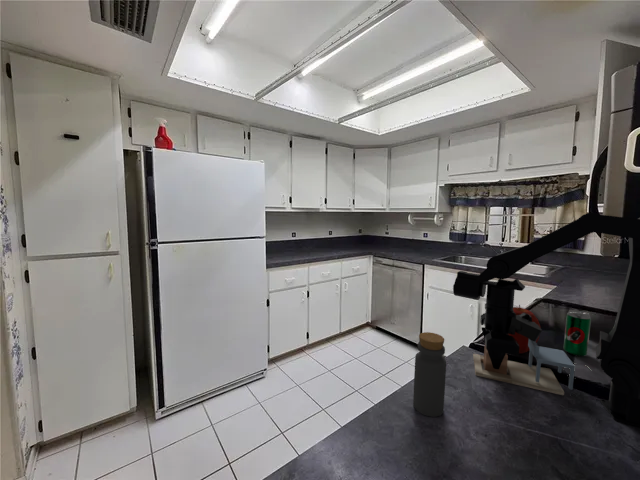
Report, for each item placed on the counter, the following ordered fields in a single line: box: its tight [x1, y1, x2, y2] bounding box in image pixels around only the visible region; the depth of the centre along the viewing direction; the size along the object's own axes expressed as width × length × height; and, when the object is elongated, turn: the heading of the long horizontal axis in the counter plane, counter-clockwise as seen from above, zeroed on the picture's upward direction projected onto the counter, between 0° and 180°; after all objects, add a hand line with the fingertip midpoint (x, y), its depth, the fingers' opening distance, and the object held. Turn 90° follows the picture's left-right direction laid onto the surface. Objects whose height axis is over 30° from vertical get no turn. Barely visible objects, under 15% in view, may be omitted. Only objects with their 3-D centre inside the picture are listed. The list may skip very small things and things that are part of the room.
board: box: [472, 353, 565, 396], centre depth 70 cm, size 10×17×1 cm, turn 64°
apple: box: [508, 304, 542, 354], centre depth 81 cm, size 10×10×14 cm
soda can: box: [563, 309, 592, 357], centre depth 80 cm, size 5×5×12 cm
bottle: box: [412, 331, 447, 418], centre depth 57 cm, size 6×6×15 cm
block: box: [483, 345, 509, 375], centre depth 71 cm, size 4×4×5 cm
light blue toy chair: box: [528, 339, 575, 391], centre depth 66 cm, size 8×7×8 cm
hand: (494, 363), depth 71 cm, fingers closed on block, 4 cm apart
